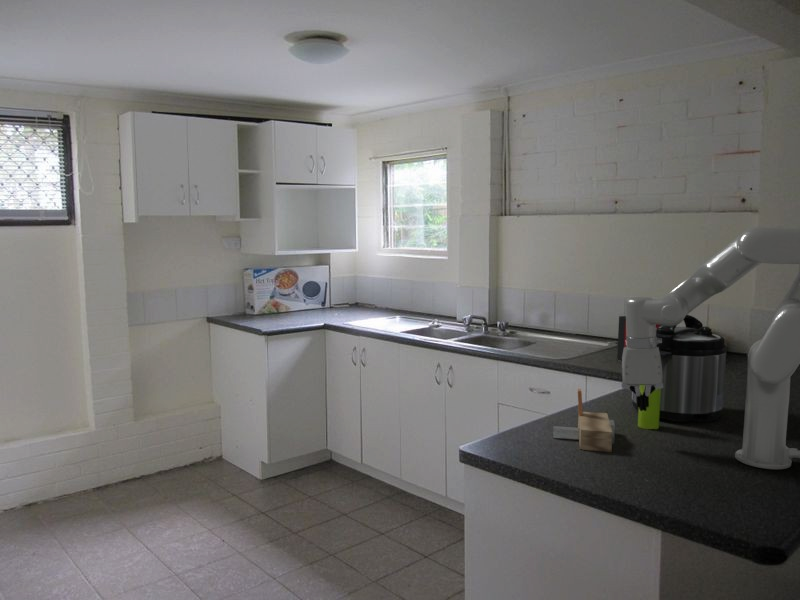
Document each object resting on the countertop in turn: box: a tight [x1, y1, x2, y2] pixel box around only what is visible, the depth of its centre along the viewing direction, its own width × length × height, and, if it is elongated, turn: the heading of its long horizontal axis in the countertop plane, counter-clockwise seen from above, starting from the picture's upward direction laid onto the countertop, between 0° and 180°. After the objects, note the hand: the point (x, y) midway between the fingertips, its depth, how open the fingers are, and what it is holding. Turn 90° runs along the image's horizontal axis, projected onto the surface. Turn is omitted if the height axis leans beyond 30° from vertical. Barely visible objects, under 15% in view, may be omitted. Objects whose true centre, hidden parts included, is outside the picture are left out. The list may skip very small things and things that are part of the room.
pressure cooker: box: [631, 314, 727, 423], centre depth 212 cm, size 30×28×32 cm
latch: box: [577, 388, 584, 415], centre depth 191 cm, size 7×3×1 cm
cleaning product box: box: [616, 315, 660, 361], centre depth 285 cm, size 16×9×20 cm, turn 17°
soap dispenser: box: [637, 385, 661, 430], centre depth 198 cm, size 6×7×20 cm
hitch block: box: [577, 411, 613, 453], centre depth 186 cm, size 8×18×5 cm, turn 167°
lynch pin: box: [552, 419, 616, 445], centre depth 186 cm, size 16×5×5 cm, turn 77°
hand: (642, 409), depth 182 cm, fingers closed
